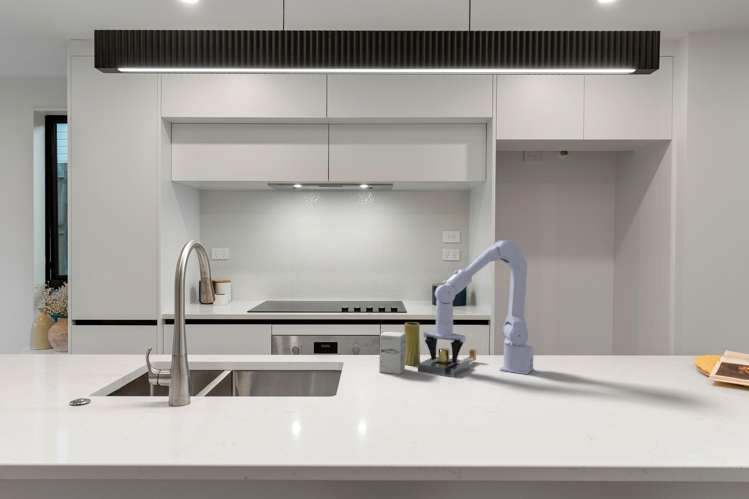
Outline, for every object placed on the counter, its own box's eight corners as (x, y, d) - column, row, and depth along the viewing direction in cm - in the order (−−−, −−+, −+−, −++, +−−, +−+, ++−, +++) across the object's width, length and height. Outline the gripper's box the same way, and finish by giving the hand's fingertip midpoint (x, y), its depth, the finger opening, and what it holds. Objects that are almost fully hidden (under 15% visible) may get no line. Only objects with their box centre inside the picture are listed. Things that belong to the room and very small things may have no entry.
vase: (400, 362, 182) (400, 322, 182) (415, 360, 185) (415, 321, 184) (408, 366, 177) (408, 325, 176) (423, 364, 179) (424, 324, 179)
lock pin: (476, 359, 184) (476, 349, 184) (461, 368, 172) (461, 357, 172) (471, 358, 185) (471, 349, 184) (456, 367, 173) (456, 356, 173)
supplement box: (378, 372, 169) (378, 334, 168) (384, 367, 176) (385, 330, 175) (400, 374, 167) (400, 336, 166) (405, 369, 174) (406, 332, 173)
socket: (469, 368, 175) (469, 361, 175) (454, 377, 164) (454, 369, 164) (434, 363, 182) (434, 356, 181) (417, 371, 171) (417, 363, 170)
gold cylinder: (450, 369, 173) (451, 349, 173) (446, 371, 170) (446, 351, 170) (441, 368, 175) (441, 347, 175) (436, 370, 172) (436, 349, 172)
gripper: (419, 320, 173) (419, 360, 173) (459, 324, 165) (459, 366, 165) (428, 317, 179) (428, 356, 179) (468, 321, 171) (467, 361, 171)
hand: (443, 360), depth 173 cm, fingers open, 7 cm apart
